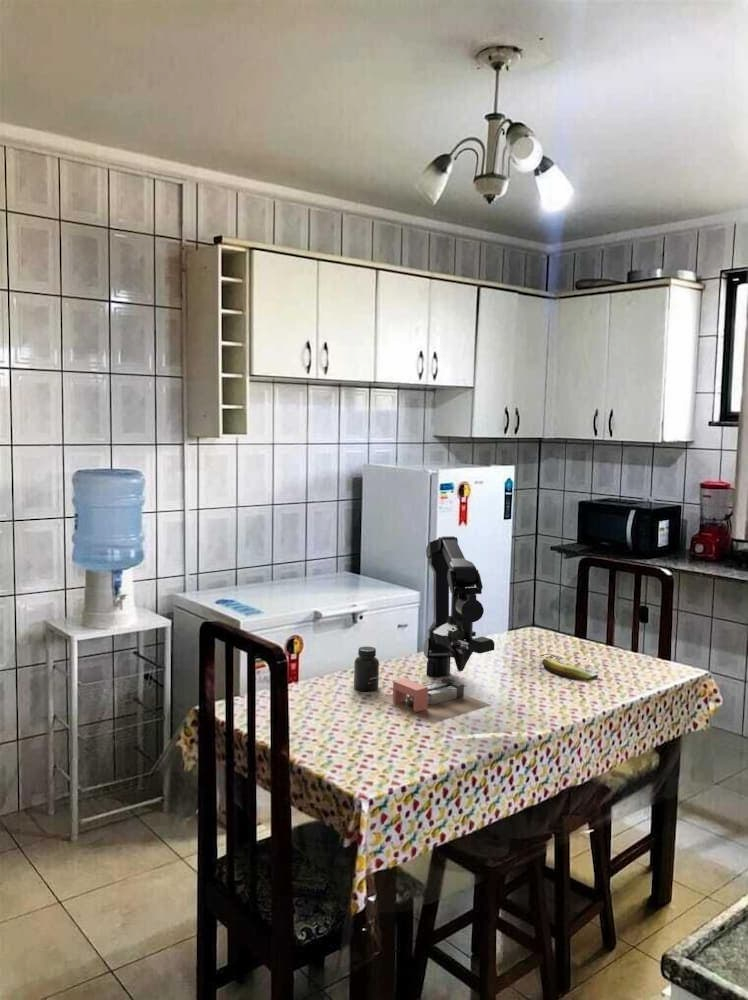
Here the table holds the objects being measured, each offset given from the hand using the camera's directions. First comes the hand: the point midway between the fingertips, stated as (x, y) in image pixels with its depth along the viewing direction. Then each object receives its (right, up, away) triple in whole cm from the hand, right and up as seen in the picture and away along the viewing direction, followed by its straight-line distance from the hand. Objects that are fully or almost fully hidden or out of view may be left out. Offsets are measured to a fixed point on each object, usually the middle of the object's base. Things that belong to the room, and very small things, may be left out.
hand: (460, 670), depth 219 cm
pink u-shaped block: (-13, -8, -2) cm, 16 cm away
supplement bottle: (-25, -8, +11) cm, 29 cm away
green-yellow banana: (+35, -8, +30) cm, 47 cm away
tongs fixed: (-8, -8, +3) cm, 12 cm away
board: (-7, -9, +2) cm, 12 cm away
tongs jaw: (-6, -8, +2) cm, 10 cm away
